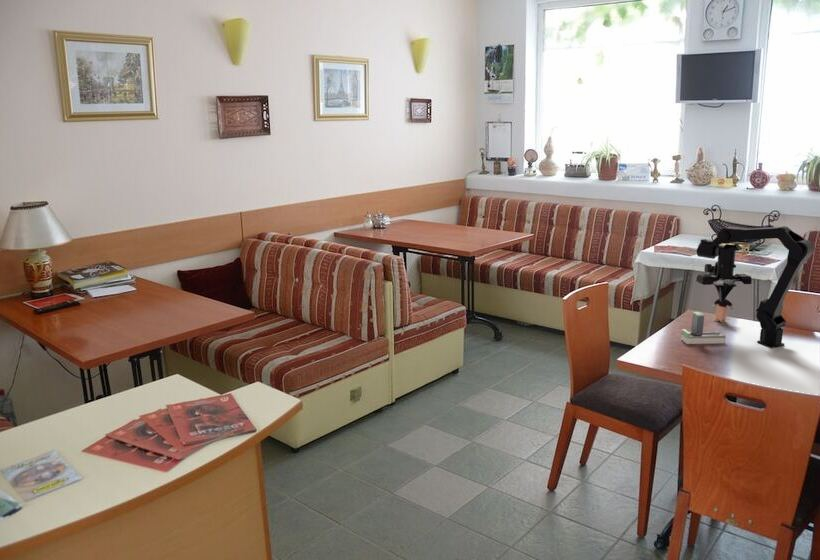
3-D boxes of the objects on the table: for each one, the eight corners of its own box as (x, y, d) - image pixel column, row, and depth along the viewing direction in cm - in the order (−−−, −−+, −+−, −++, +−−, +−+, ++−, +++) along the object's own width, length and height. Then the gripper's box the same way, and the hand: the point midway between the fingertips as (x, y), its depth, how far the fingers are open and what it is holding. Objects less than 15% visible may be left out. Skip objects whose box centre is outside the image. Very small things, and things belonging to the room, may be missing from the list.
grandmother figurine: (710, 321, 276) (714, 290, 273) (710, 318, 280) (713, 288, 277) (731, 323, 274) (735, 292, 271) (731, 320, 277) (735, 290, 274)
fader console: (718, 338, 255) (719, 328, 254) (724, 343, 250) (725, 332, 250) (680, 339, 255) (681, 329, 254) (686, 343, 250) (687, 333, 249)
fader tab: (697, 333, 254) (700, 311, 252) (703, 337, 250) (705, 314, 248) (689, 333, 254) (692, 311, 252) (694, 337, 250) (697, 315, 248)
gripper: (739, 256, 265) (734, 295, 269) (691, 256, 264) (687, 296, 268) (755, 262, 254) (750, 303, 258) (705, 262, 253) (701, 304, 257)
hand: (721, 301), depth 260 cm, fingers closed
